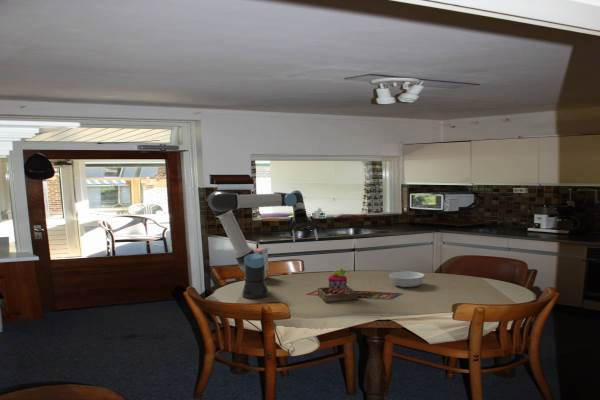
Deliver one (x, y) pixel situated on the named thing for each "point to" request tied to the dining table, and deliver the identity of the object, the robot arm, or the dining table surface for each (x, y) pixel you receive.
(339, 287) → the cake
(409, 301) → the dining table surface
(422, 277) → the serving bowl
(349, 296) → the box
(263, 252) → the cracker box
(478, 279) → the dining table surface
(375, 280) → the dining table surface
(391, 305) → the dining table surface
